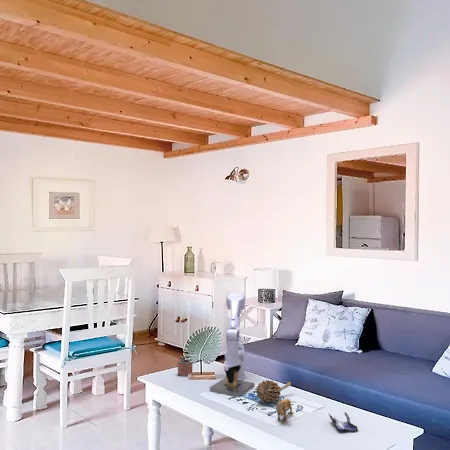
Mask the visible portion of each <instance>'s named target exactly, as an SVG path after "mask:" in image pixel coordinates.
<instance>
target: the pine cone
mask: <svg viewBox="0 0 450 450" xmlns="http://www.w3.org/2000/svg"><path fill="white" fill-rule="evenodd" d="M291 383H292V382H291V381H288V382H287V383H286V384H284V385H283V386H279V385H278V382H275V381H273V380H270V379H265V381H264V380H262V382H258V383H257V385H258V386H256V387H255V389H256V390H255V391H254V392H255V393H256V397H257V399H259V400H260V401H261V402H265V403H267V402H268V403H270V402H271V403H273V401H274V402H276V400H278V398H279V399H280V398H281V397H280V396H281V395H282V394H281V391H283V390H285V389H287V388H288V387H291V386H292V384H291Z"/></svg>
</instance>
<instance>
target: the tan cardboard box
mask: <svg viewBox="0 0 450 450" xmlns="http://www.w3.org/2000/svg"><path fill="white" fill-rule="evenodd" d="M225 378H226V386H230V387H235V388H236V387H237V386H238V371H235V374H234V380H233V383H229V382H228V378H227V375H226V374H225Z"/></svg>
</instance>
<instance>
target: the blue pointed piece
mask: <svg viewBox="0 0 450 450" xmlns="http://www.w3.org/2000/svg"><path fill="white" fill-rule="evenodd" d="M327 413H328V415H329V418H330V420H331V422H332V423H333V425H334V426H335V427H336V429H337V431H338V432H341V431H346V432H347V433H354V432H357V431H359V430H358V426H357V425H355V424H354V423H351V417H349V415H348V413H347V412H346V411H345V412H342V414H343V413H344V416H345V417H346V421H341V420H339V419H337V418H336V416H335V415H333V416H334V417H333V416H332V415H331V414H330V413H329V412H327ZM339 423H341V426H342V427H341V426H340V424H339Z"/></svg>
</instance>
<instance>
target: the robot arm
mask: <svg viewBox="0 0 450 450" xmlns="http://www.w3.org/2000/svg"><path fill="white" fill-rule="evenodd" d="M225 303H226V308H227V310H229V311H230V316H229V317H228V318H227V326H226V327H227V328H226V330H225V344H226V345H225V349H224V360H225V361H224V365H223V371H224V372H225V376H226V375H227V378H228V382H229V383H233V380H234V374H235V371H238V380H241V381H243V379H245V378H246V377H247V376H246V375H245V362H244V361H245V346H244V344H242V343H241V342H240V338H241V337H240V336H241V331H240V322H241V321H240V317H241V312H242V311H243V310H245V308H246V306H245V305H246V294H245V292H227V293H226V294H225Z"/></svg>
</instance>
